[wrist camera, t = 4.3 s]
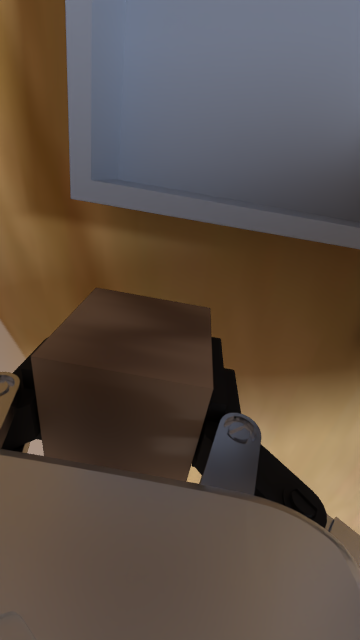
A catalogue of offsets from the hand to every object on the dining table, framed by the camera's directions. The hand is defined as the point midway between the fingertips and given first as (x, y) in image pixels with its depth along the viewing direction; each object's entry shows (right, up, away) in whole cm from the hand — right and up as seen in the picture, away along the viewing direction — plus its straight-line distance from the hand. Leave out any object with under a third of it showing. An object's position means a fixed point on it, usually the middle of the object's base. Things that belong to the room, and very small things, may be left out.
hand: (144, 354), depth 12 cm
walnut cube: (0, 0, +1) cm, 1 cm away
